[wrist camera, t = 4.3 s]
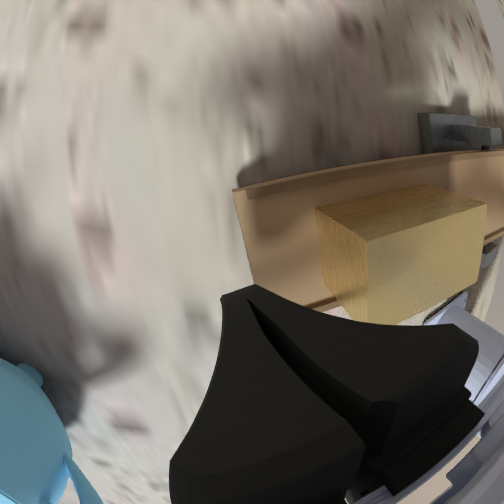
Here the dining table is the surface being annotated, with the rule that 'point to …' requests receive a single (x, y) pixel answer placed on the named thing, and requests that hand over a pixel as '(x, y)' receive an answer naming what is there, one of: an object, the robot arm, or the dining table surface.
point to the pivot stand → (458, 146)
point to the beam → (342, 189)
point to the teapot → (34, 443)
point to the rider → (400, 250)
